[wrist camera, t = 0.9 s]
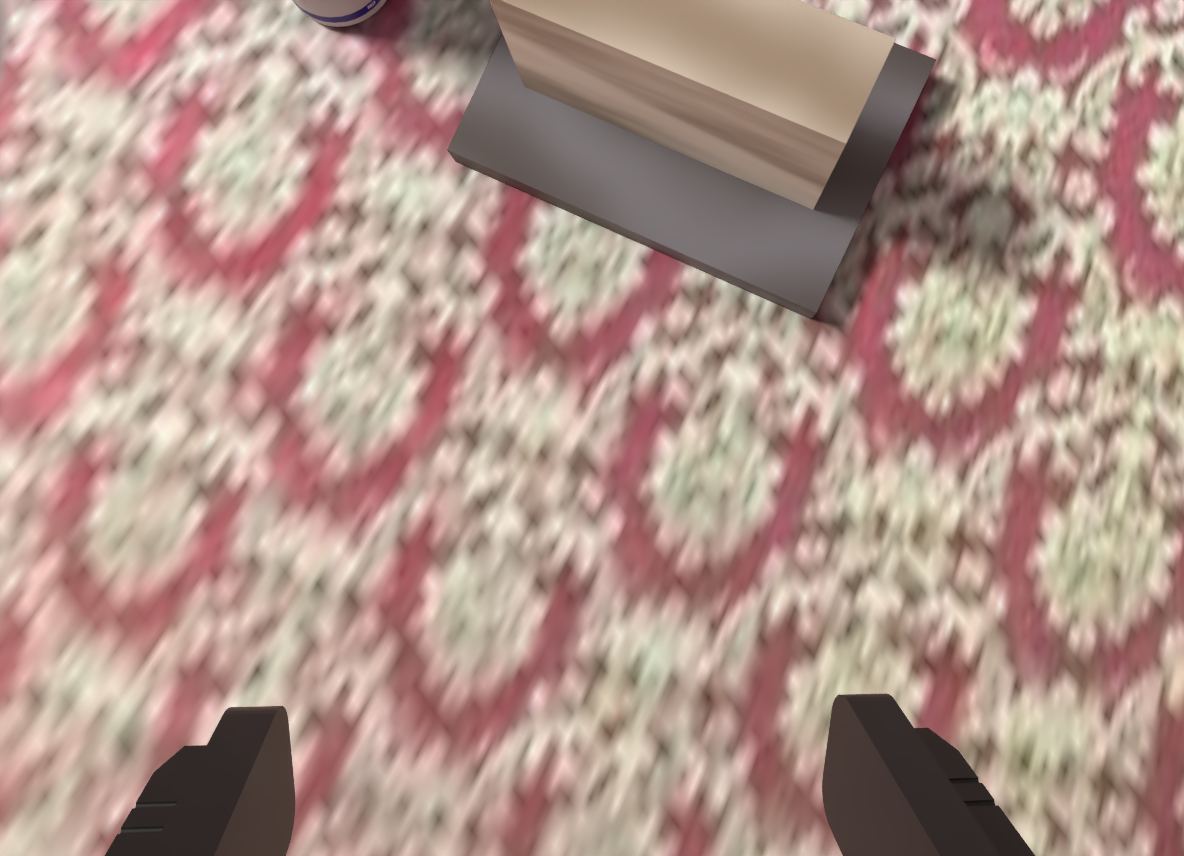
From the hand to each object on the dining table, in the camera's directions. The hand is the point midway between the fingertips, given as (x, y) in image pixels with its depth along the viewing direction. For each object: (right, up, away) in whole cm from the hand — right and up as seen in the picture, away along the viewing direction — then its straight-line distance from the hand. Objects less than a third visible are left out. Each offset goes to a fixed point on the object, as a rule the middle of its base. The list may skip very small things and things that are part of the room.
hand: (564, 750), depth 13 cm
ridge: (+5, +19, +27) cm, 33 cm away
